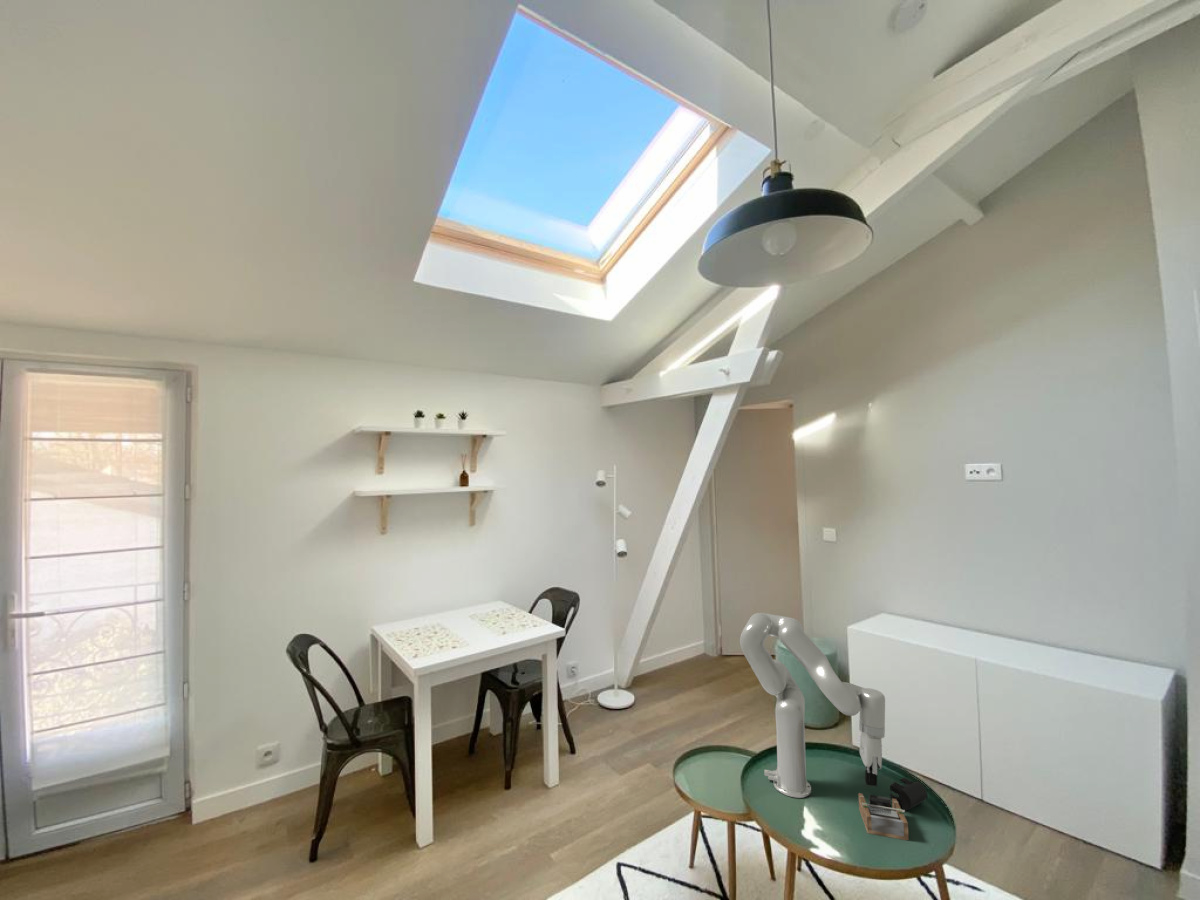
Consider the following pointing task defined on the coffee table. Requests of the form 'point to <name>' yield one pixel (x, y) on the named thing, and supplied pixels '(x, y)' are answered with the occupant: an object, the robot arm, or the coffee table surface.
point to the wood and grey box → (884, 822)
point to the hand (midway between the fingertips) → (870, 784)
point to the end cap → (908, 793)
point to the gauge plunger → (882, 807)
